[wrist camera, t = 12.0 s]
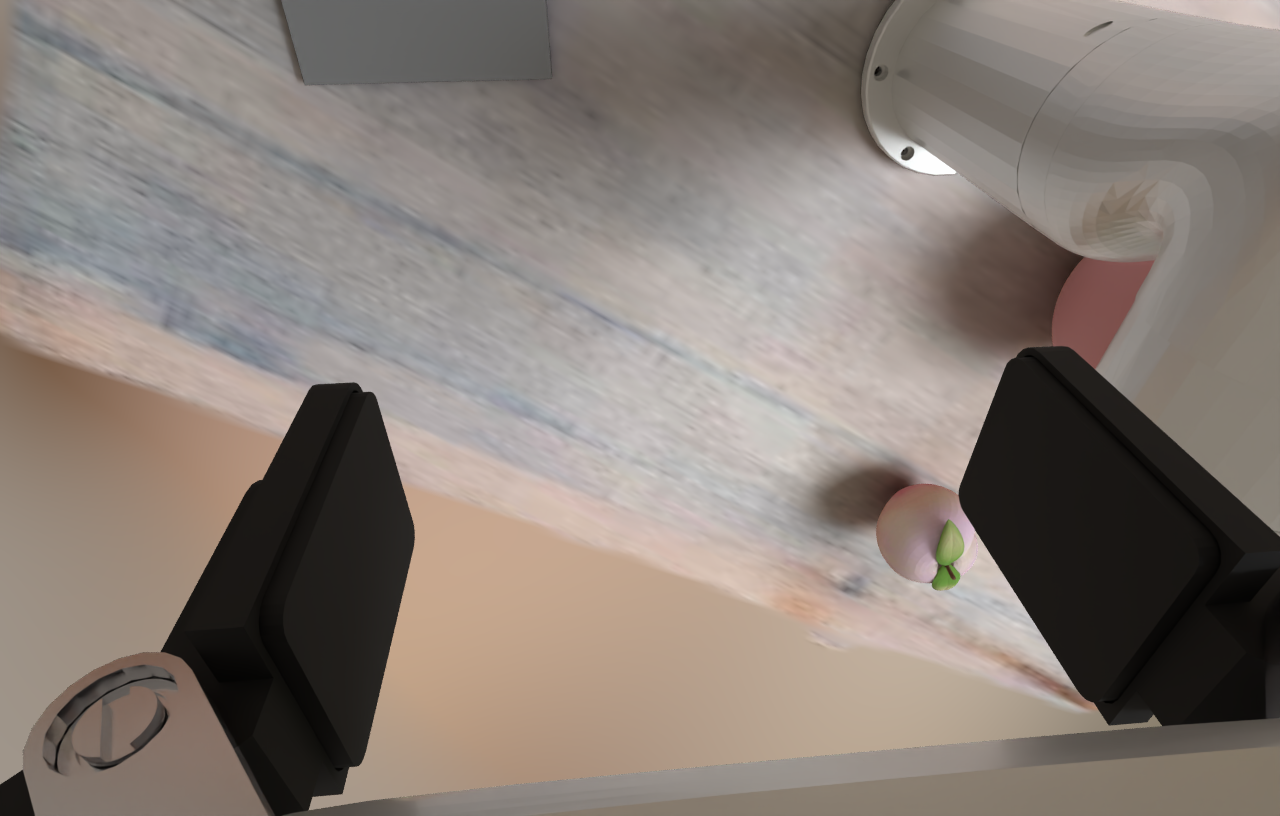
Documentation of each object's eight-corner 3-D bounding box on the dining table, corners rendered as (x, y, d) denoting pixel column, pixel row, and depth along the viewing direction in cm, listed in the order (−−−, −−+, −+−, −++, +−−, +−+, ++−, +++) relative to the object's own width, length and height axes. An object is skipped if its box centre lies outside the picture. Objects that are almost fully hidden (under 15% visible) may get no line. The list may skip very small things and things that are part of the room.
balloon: (1106, 411, 60) (1244, 543, 48) (969, 299, 52) (1093, 424, 40) (1283, 279, 53) (1495, 394, 41) (1157, 125, 45) (1376, 212, 33)
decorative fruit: (851, 476, 62) (893, 562, 54) (940, 447, 61) (996, 529, 53) (869, 539, 68) (909, 625, 60) (951, 513, 67) (1003, 597, 59)
